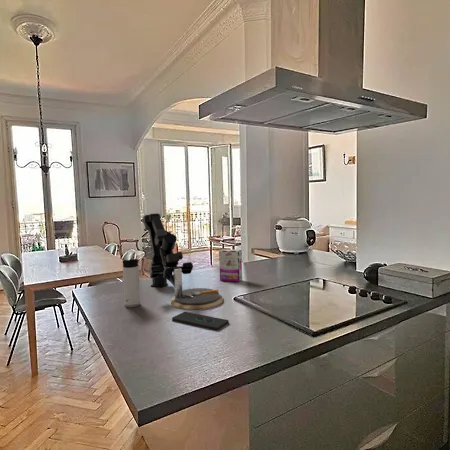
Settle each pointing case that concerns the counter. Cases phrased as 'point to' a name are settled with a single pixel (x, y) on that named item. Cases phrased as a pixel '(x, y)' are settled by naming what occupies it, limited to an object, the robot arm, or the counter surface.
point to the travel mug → (131, 283)
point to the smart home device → (200, 321)
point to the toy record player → (192, 292)
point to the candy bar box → (230, 265)
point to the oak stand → (196, 307)
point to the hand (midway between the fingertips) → (175, 286)
